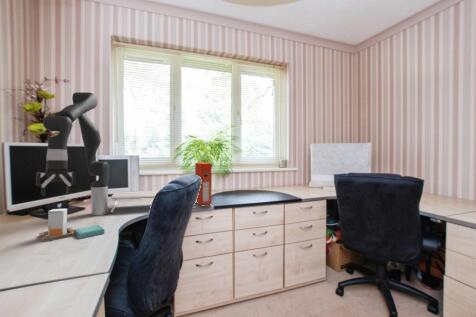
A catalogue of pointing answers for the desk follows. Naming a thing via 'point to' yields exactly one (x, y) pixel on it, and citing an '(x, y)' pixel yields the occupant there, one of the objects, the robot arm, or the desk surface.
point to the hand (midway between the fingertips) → (56, 195)
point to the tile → (89, 231)
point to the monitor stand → (132, 196)
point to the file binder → (204, 182)
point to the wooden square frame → (44, 238)
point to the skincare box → (57, 222)
